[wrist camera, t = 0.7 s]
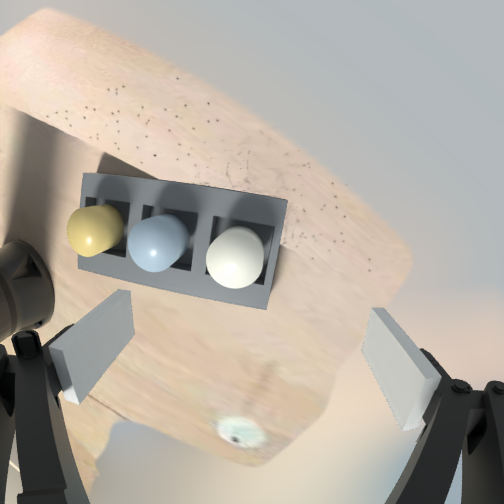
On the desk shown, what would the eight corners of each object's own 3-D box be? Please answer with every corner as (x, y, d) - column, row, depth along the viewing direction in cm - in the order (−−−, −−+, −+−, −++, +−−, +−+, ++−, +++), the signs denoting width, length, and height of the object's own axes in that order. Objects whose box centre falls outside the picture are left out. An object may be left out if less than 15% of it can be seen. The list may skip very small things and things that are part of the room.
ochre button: (87, 244, 32) (66, 252, 28) (89, 201, 31) (68, 205, 26) (122, 251, 32) (103, 261, 27) (126, 207, 31) (106, 210, 26)
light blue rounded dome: (143, 256, 32) (126, 266, 27) (147, 210, 31) (130, 214, 26) (186, 264, 32) (174, 276, 27) (192, 217, 30) (180, 223, 26)
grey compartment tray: (90, 262, 35) (77, 268, 32) (96, 172, 33) (83, 172, 30) (266, 299, 35) (266, 310, 32) (286, 199, 32) (287, 200, 29)
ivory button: (211, 269, 32) (202, 282, 27) (218, 222, 30) (210, 228, 26) (259, 278, 31) (257, 293, 27) (268, 230, 30) (267, 238, 26)
